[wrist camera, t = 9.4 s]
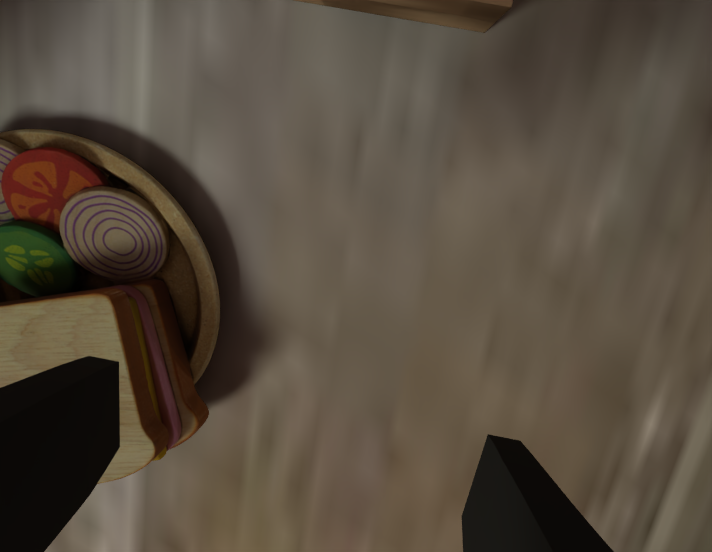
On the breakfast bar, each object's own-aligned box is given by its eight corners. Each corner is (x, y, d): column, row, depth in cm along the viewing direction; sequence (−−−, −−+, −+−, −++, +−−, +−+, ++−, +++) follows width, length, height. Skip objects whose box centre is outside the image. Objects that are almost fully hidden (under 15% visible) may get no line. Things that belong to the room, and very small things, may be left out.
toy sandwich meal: (205, 120, 17) (137, 123, 13) (249, 428, 22) (210, 511, 17) (-101, 134, 19) (-260, 142, 14) (-1, 423, 23) (-97, 498, 19)
